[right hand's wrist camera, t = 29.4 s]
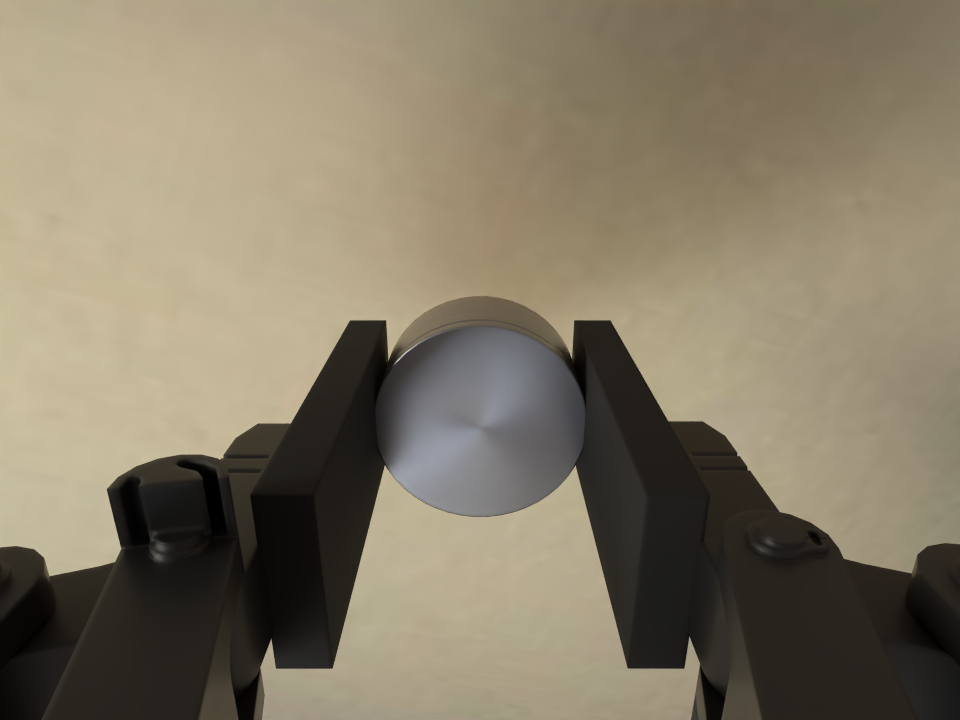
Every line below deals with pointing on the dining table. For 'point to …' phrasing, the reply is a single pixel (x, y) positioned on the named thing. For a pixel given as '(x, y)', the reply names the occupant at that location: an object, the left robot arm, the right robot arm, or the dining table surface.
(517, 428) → the cap
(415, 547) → the dining table surface
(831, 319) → the dining table surface
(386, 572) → the dining table surface
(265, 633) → the right robot arm
